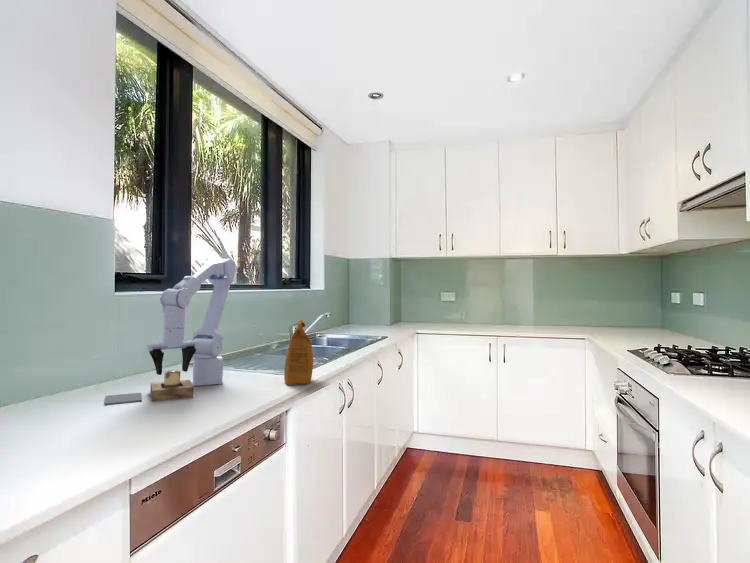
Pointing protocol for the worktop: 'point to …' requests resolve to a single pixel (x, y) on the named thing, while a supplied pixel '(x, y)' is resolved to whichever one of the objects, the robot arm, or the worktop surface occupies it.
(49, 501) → the worktop surface
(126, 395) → the mat
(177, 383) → the end cover
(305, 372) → the coffee package
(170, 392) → the housing
